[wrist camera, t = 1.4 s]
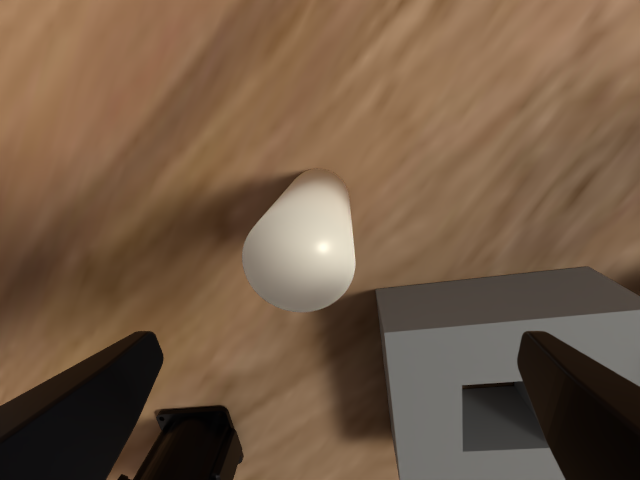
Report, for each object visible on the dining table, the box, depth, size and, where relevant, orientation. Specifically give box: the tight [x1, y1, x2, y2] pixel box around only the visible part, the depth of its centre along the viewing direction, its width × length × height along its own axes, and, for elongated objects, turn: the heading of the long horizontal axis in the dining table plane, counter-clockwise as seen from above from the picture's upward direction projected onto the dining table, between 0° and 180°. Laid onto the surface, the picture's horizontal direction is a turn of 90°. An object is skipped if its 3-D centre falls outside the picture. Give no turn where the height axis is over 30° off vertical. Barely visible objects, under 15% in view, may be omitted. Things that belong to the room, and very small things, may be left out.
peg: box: [242, 168, 355, 312], centre depth 16 cm, size 4×4×10 cm
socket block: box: [376, 267, 640, 480], centre depth 21 cm, size 14×14×5 cm
